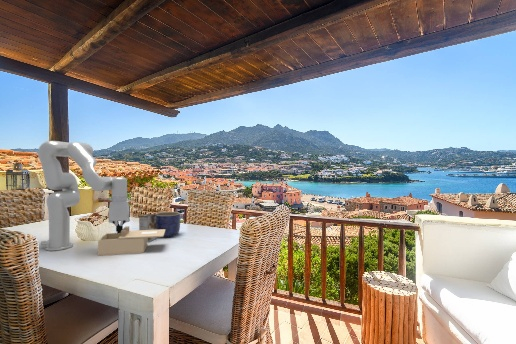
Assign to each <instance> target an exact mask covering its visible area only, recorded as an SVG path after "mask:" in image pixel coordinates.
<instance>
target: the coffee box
mask: <svg viewBox="0 0 516 344" xmlns="http://www.w3.org/2000/svg"><path fill="white" fill-rule="evenodd" d="M138 219H139V220H138V223H139V225H138V227H139V229H138V230H156V213H146V214H142V215H139V216H138ZM154 240H157V237H147V244H148V243H150V242H153V241H154Z"/></svg>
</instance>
